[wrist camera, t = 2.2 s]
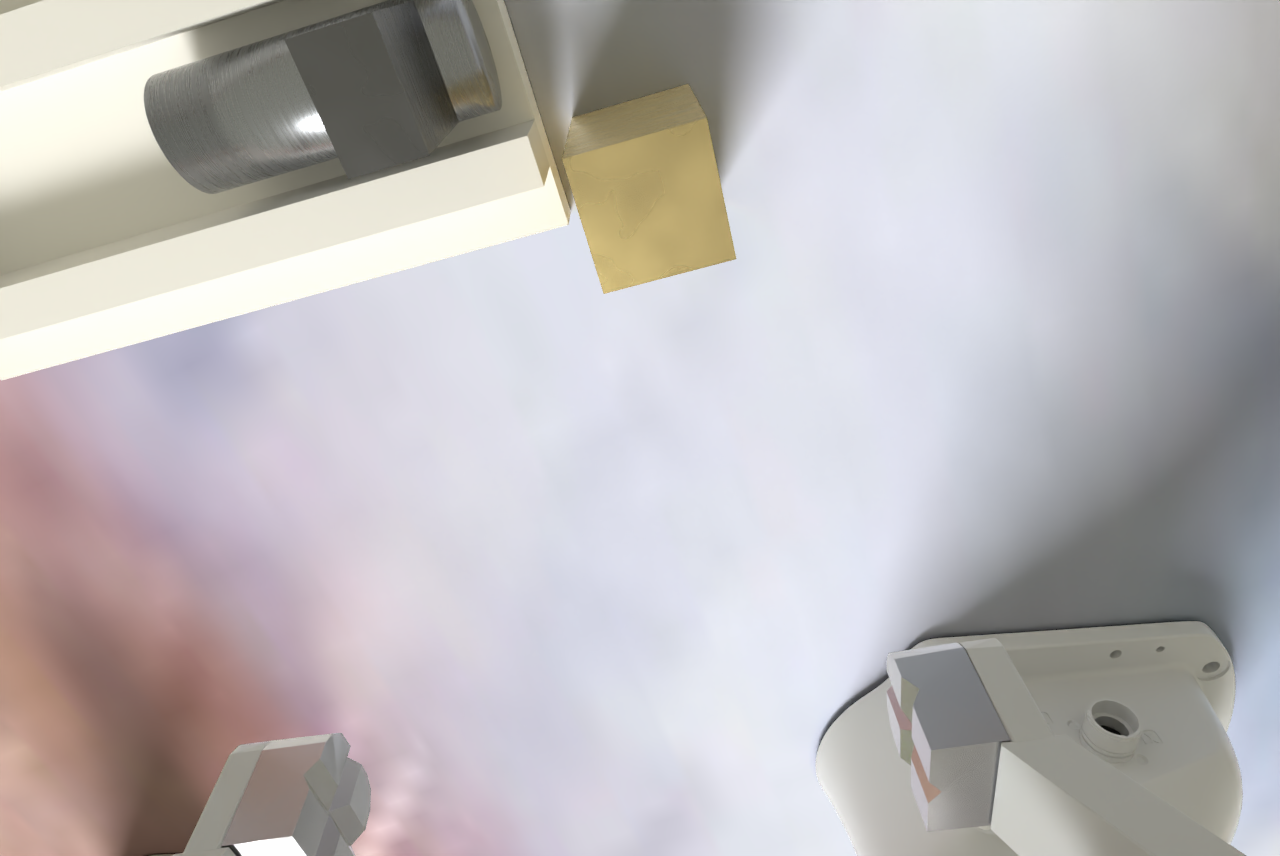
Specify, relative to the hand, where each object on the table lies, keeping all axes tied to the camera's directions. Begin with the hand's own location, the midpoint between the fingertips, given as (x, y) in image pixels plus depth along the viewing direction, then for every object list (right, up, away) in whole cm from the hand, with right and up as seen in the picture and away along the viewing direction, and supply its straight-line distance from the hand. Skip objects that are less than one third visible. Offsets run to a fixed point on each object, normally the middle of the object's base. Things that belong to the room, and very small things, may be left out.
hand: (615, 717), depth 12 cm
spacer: (+1, +14, +15) cm, 20 cm away
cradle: (-14, +14, +14) cm, 25 cm away
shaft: (-9, +15, +12) cm, 21 cm away
